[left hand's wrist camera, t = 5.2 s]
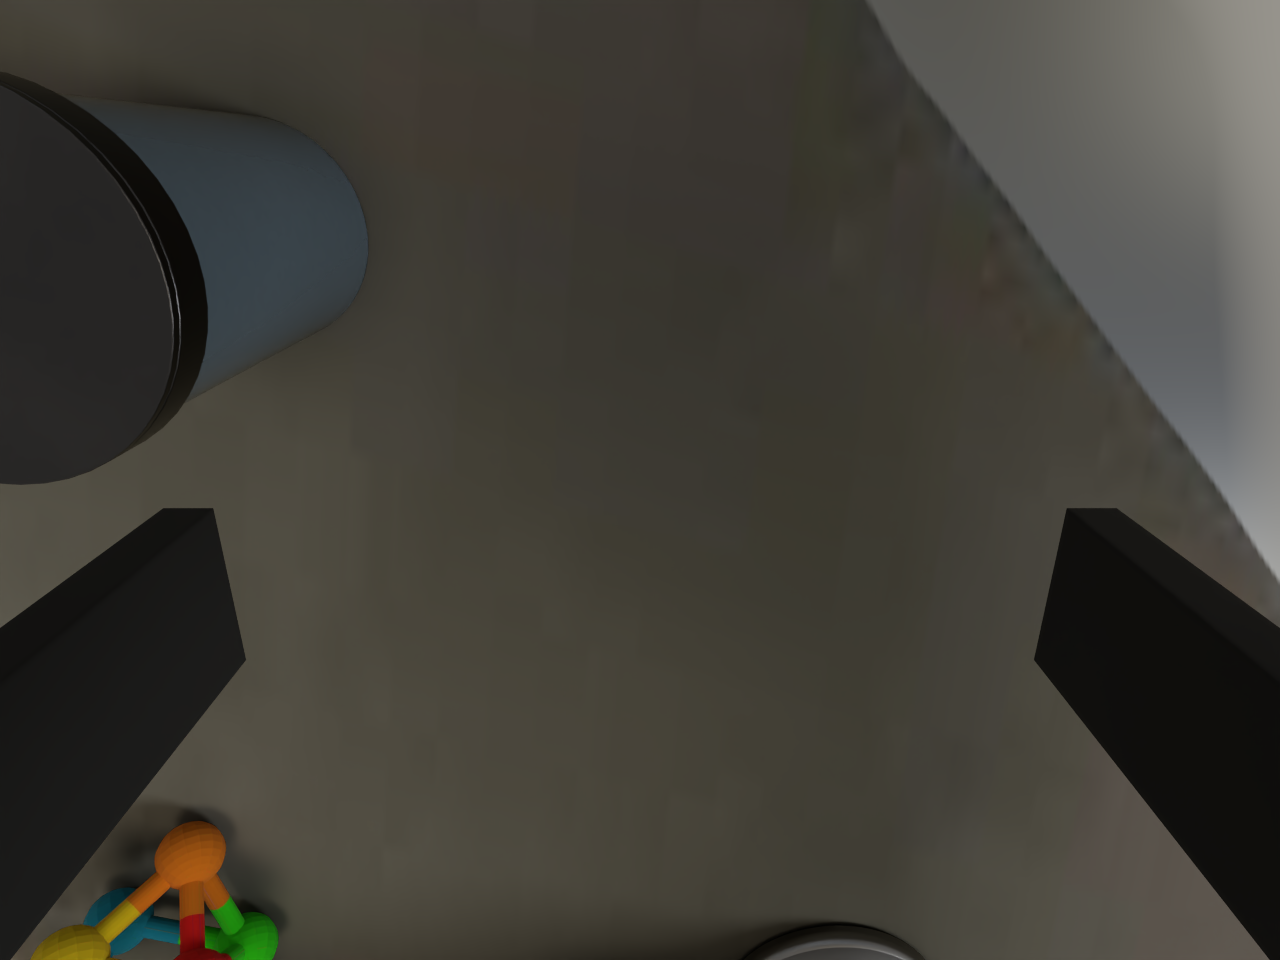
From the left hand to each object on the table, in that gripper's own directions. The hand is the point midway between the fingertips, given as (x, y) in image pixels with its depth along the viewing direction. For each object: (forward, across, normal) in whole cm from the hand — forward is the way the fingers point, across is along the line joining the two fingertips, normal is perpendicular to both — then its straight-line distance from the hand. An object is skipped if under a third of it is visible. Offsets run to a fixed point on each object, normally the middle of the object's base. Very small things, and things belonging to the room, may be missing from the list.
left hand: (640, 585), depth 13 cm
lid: (+10, +18, -3) cm, 21 cm away
